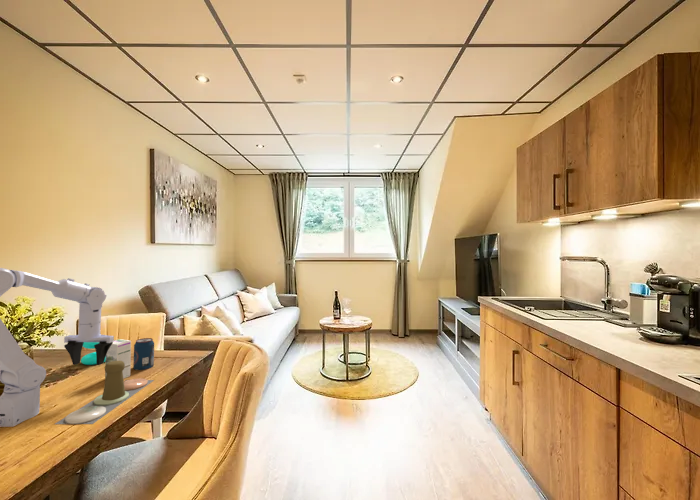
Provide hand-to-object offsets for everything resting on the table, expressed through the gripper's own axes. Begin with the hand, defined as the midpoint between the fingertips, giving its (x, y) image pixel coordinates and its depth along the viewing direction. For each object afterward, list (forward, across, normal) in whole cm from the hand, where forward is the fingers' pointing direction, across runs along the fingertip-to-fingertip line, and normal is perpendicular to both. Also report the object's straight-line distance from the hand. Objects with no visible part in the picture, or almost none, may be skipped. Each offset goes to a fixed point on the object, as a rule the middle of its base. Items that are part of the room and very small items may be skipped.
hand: (88, 364), depth 106 cm
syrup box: (+10, -1, -13) cm, 17 cm away
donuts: (+10, +21, -32) cm, 40 cm away
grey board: (+10, -11, +5) cm, 16 cm away
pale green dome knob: (+9, -11, +5) cm, 15 cm away
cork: (+9, -11, +4) cm, 15 cm away
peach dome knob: (+9, -11, -6) cm, 15 cm away
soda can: (+10, -4, -24) cm, 26 cm away
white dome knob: (+9, -11, +15) cm, 21 cm away
